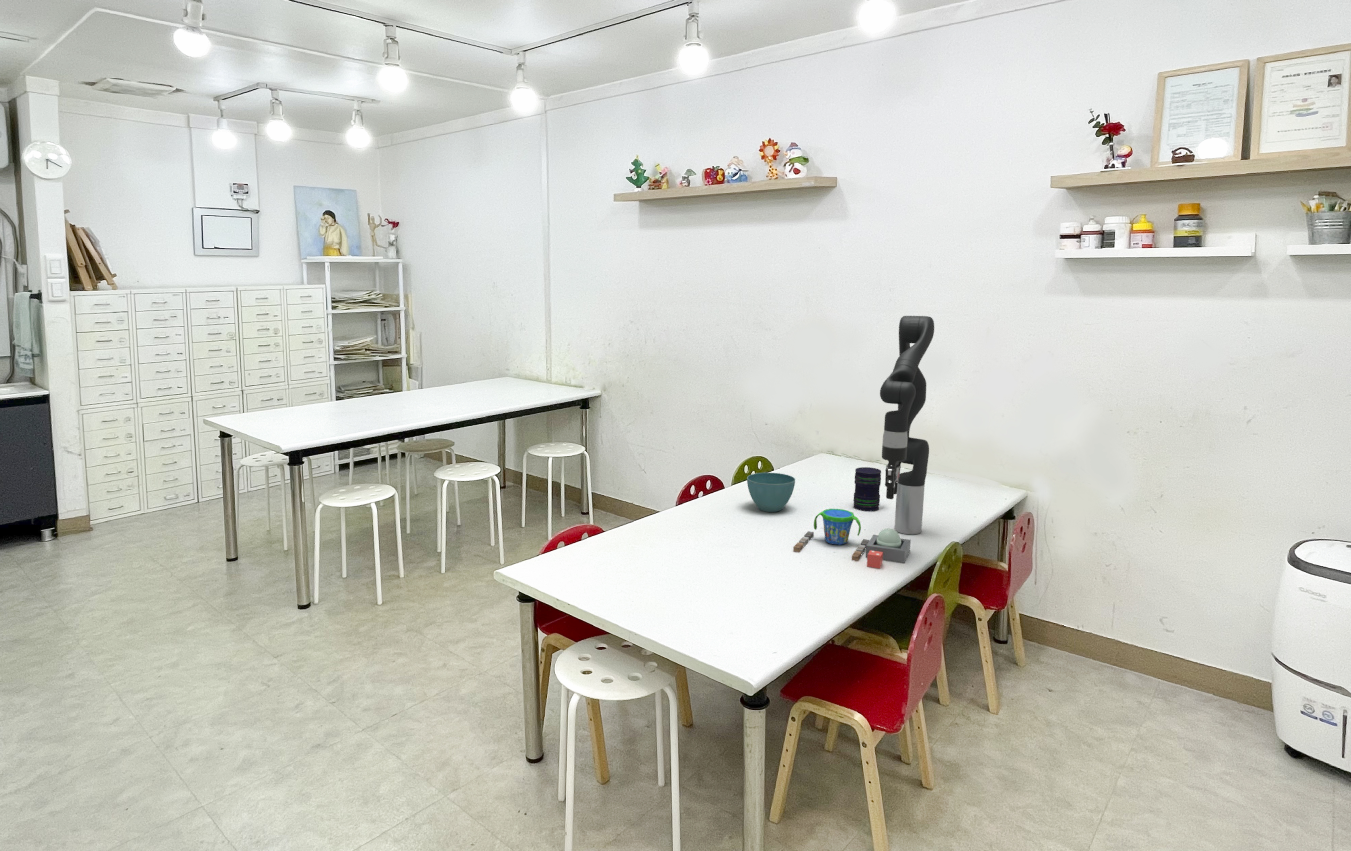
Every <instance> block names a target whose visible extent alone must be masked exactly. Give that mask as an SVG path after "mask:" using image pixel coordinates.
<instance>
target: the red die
mask: <svg viewBox="0 0 1351 851" xmlns="http://www.w3.org/2000/svg"><path fill="white" fill-rule="evenodd" d="M866 560H867V562H866V567H868V568H875V569H881V567H882V565H883V561H884V560H883V552H879V551H872V550H870V551H869V553H868V556H867V558H866Z"/></svg>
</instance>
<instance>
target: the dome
mask: <svg viewBox="0 0 1351 851" xmlns="http://www.w3.org/2000/svg"><path fill="white" fill-rule="evenodd" d="M877 535H878V537H877V544H876V545H878V546H885V547H892V548H901V539H902V538H901V535H900V534H899V532H897V531H895V529H894V528H889V527H888V528H884V529H882V530H880V531H879V533H878V534H877ZM900 538H901V539H900Z"/></svg>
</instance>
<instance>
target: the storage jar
mask: <svg viewBox="0 0 1351 851" xmlns="http://www.w3.org/2000/svg"><path fill="white" fill-rule="evenodd" d="M881 480H882V470H881V469H879V468H876V467H868V466H865V467H863V466H862V467H856V468H855V473H854V492H853V508H854V509H855V510H856V511H857V510H858V511H861V512H876V511H879V510H880V507H879V506H880V502H881V501H880V500H881V495H880V487H881V484H882V481H881Z"/></svg>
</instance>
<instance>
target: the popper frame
mask: <svg viewBox="0 0 1351 851" xmlns="http://www.w3.org/2000/svg"><path fill="white" fill-rule="evenodd" d="M878 535H879V534H873V535H872V537H871V538H870V539H869V542H868V544H867V545H866V549H865V558H866V559H867V556H868V553H869V551H870V550H872V551H879V552H883V561H887V562H893V563H894V562H895V563H901V564H905V562H906V560H907V559H908V556H909V554H910V552H911V542H912V540H911V539H907V538H902V537H900V539H901V548H892V547H885V546H878V545H876V544H877V537H878Z"/></svg>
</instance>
